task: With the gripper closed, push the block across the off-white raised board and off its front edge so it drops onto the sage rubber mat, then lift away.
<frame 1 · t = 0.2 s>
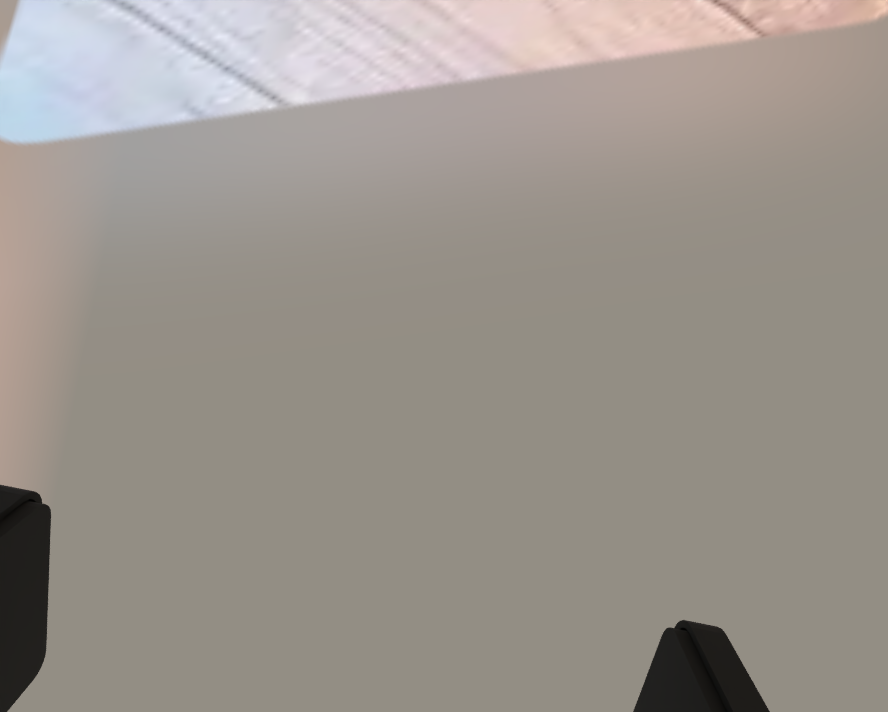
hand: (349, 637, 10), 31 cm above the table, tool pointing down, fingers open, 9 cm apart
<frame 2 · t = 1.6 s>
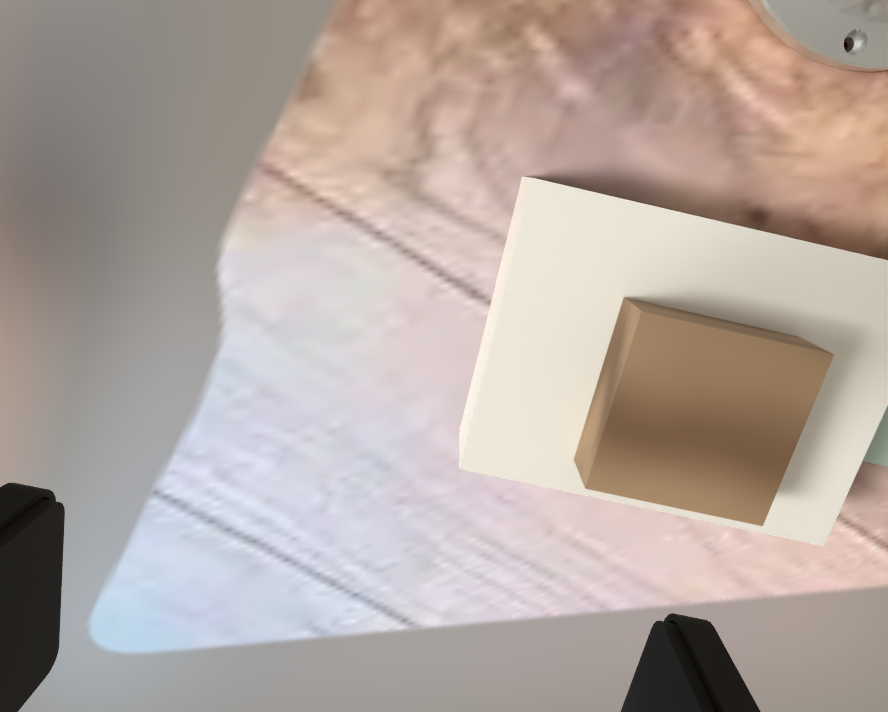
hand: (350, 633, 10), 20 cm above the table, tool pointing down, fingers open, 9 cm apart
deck: (659, 349, 29), on the table
block: (682, 399, 26), point 4 cm above the table, touching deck
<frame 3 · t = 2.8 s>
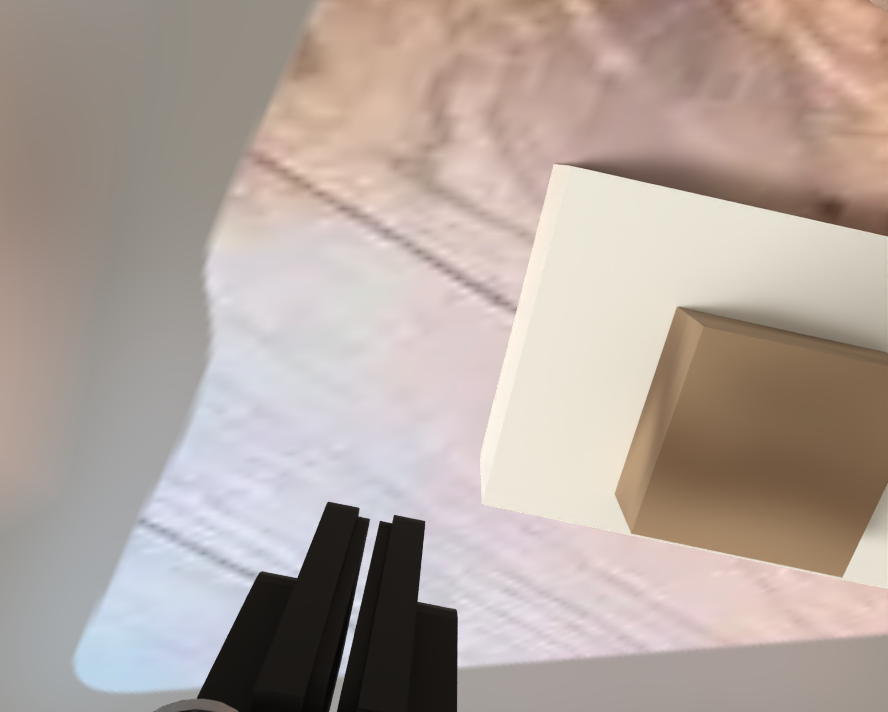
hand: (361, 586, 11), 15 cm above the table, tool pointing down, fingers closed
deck: (711, 362, 25), on the table
block: (743, 426, 22), point 4 cm above the table, touching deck
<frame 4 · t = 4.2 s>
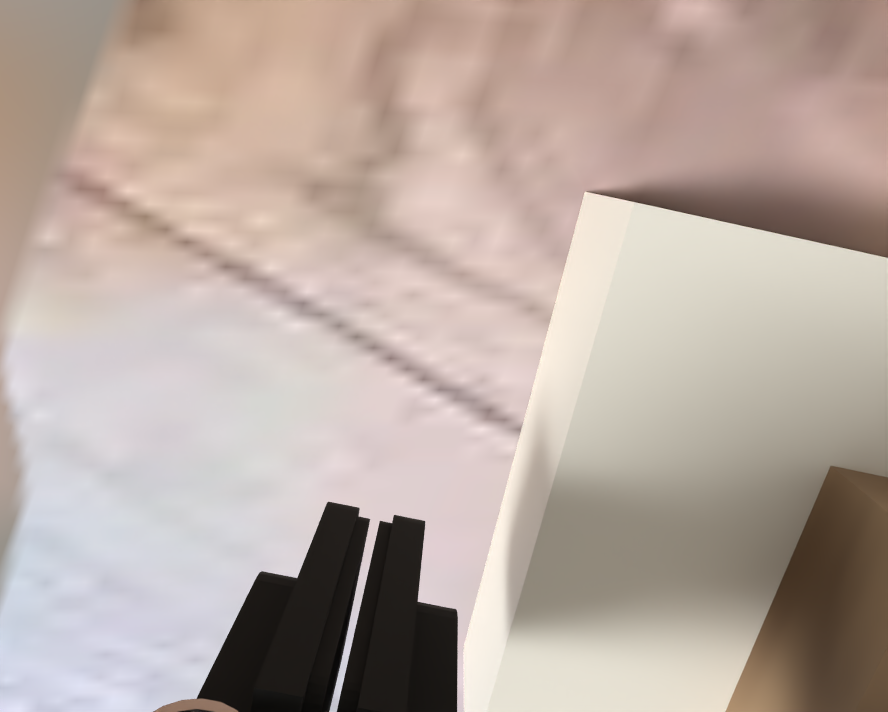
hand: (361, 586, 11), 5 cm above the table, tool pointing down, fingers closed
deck: (837, 510, 15), on the table
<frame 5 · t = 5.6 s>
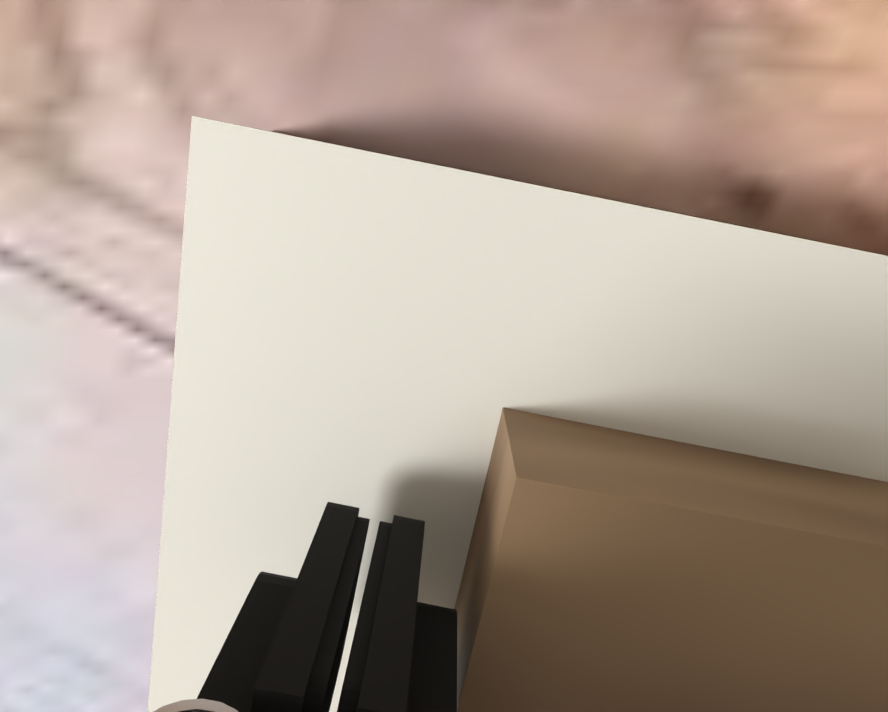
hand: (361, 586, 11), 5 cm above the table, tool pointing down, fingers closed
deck: (572, 458, 15), on the table
block: (646, 616, 12), point 4 cm above the table, touching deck, gripper
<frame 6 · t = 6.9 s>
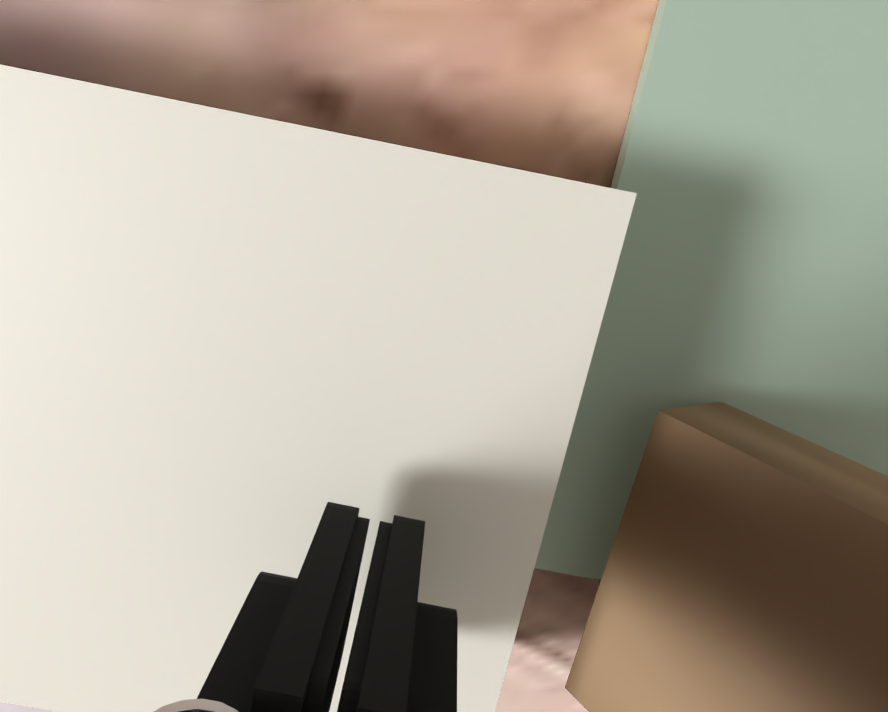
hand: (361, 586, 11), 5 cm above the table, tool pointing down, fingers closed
mat: (809, 278, 14), on the table
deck: (189, 377, 15), on the table
block: (764, 677, 11), point 5 cm above the table, tilted 129°, touching mat
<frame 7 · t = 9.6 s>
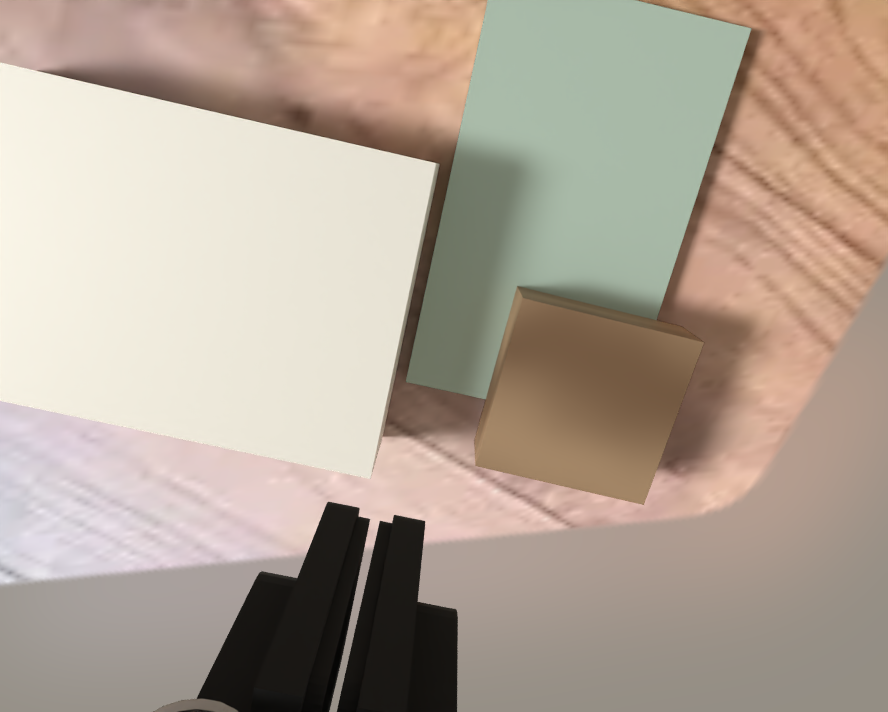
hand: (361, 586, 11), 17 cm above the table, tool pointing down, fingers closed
mat: (561, 218, 26), on the table
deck: (221, 267, 27), on the table
block: (586, 406, 25), point 3 cm above the table, tilted 180°, touching mat
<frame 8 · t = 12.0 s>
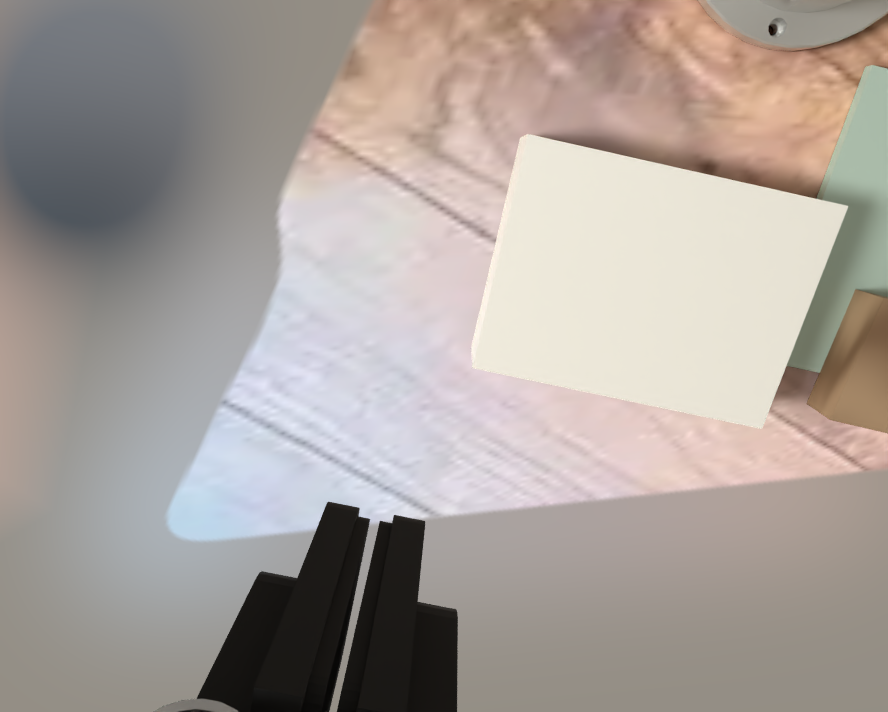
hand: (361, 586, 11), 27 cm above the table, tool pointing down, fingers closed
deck: (631, 277, 36), on the table
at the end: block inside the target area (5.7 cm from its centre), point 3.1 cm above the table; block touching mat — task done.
